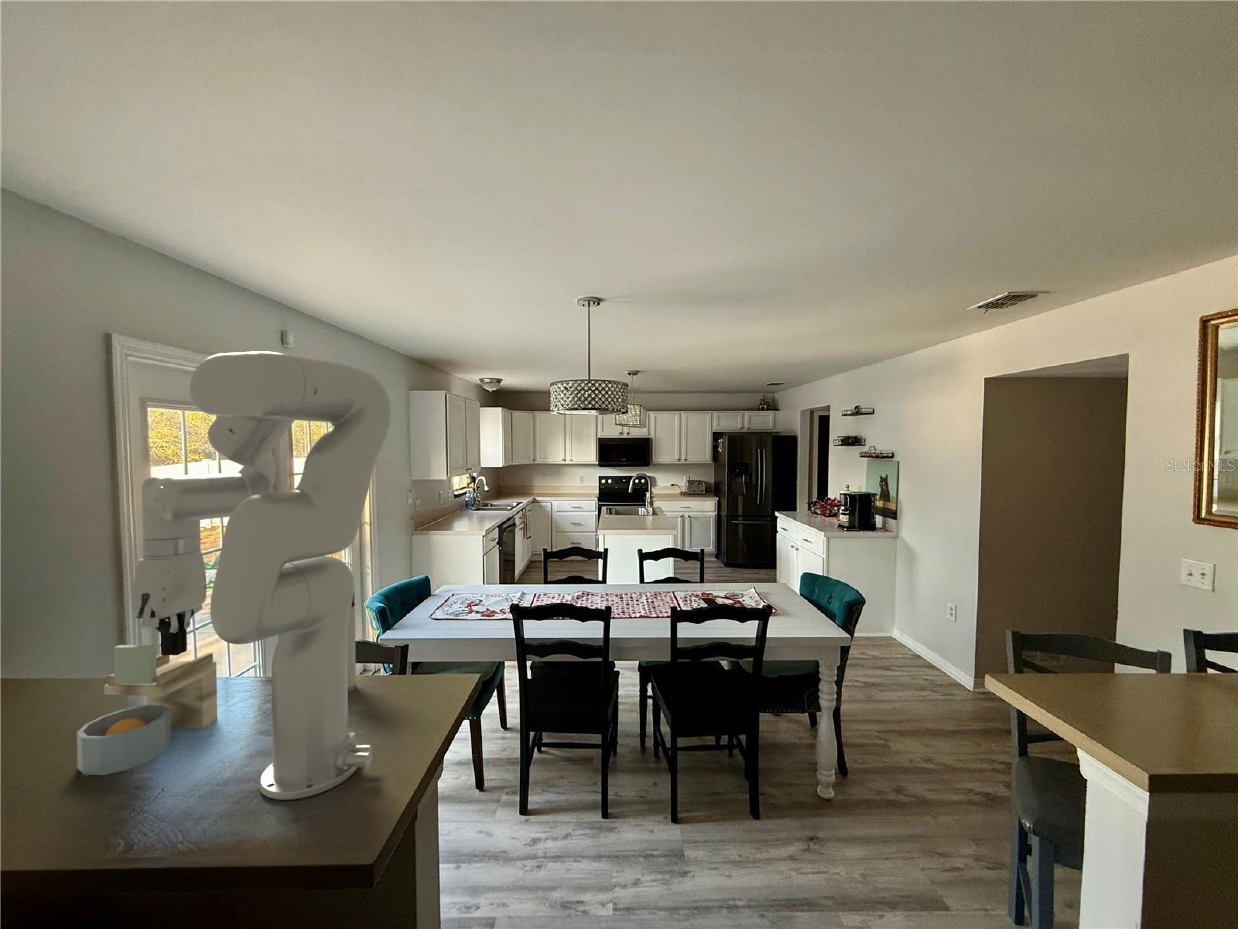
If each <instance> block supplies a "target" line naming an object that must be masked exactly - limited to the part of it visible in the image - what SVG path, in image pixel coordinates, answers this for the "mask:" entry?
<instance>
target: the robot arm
mask: <svg viewBox="0 0 1238 929" xmlns="http://www.w3.org/2000/svg"><path fill="white" fill-rule="evenodd" d="M189 383H190V384H189V392H190V397H191V400H192V402H193V404H194V405H195V407H196V408H198V409H199V411H201V412H203V413H205V414H207V415H211V416H216V418H215V419H214V420H213V422H212V424H211V425H210V426H209V429H208V431H207V437H208V438H207V439H208V441H209V443H210V445H211V446H212V447H213V449H214V451H216V452H217V453H218V454H219V455H220V456H222V457H224V458H225V459H227V460H229V461H231V462H233V463H236V464H238V465H240V466H242V468H241V469H240V470H239V471H237V472H236V473H210V474H208V473H207V474H204V473H203V474H181V475H180V474H177V475H174V474H173V475H166V474H165V475H154V476H153V475H152V476H149V477H147V478H145V479H144V480H143V482H142V486H141V500H142V501H141V503H142V504H141V505H142V506H141V509H142V511H141V512H142V558H141V559H140V558H139V559H138V562H137V566H136V569H135V574H134V575H135V576H134V579H133V590H132V608H131V609H132V612H131V613H132V616H133V618H134V619H142V620H141V623H140V628H142V629H155V630H156V632H157V633H158V634H160V654H162V655H169V656H179V655H181V654H184V653H186V652H187V650H188V635H187V634H188V633H187V629H188V628H190V626H191V620H192V618H193V617H194V616H195V614H197V613H198V612H200V611H201V610H203V604H204V603H205V602H206V599H207V589H208V588H207V587H208V586H207V575H206V574H207V573H206V567H205V560H204V556H203V553H202V551H201V548H202V547H201V540H202V538H201V521H202V520H203V521H204V520H211V519H219V518H221V519H222V518H229V519H228V521H227V523H226V527H225V531H224V534H223V539H222V544H221V549H220V554H219V558H218V562H217V568H216V572H215V577H214V581H213V587H212V593H211V596H210V597H211V598H210V611H209V613H210V614H209V615H210V620H211V624H212V628H213V630H214V632H215V634H216V635H217V636H218V637H219V638H220V639H221V640H223V641H224V642H225V643H229V644H233V645H247V644H251V643H256V642H258V641H262V640H266V639H269V638H273V637H276V636H278V635H280V637H279V638H278V640H277V643H276V645H275V648H274V651H273V653H272V654H273V655H272V658H271V719H272V720H271V722H272V723H271V724H272V726H271V727H272V734H271V735H272V763H271V764H270V765H268V767H266V768H265V769H264V771H263V772H262V773H261V775H260V778H259V790H260V792H261V793H262V794H263V796H266V797H267V798H270V799H273V800H283V801H285V800H287V801H288V800H289V801H291V800H298V799H303V798H308V797H311V796H314V795H318V794H321V793H323V792H326V791H328V790H331V789H333V788H334V787H336V786H338V785H340V784H341V783H343V782H344V781H346V780H347V779H348V778H350V777H351V776H352V775H353V774H354V773H355V772H356V770H357V769H358V768H369V767H370V766H371V764H372V761H373V752H372V751H373V745H372V744H358V743H357V742H356V733H355V732H349V706H348V704H349V702H348V698H349V697H348V696H349V695H348V694H349V693H348V690H347V636H348V623H349V616H350V611H351V606H352V601H353V595H354V596H355V580H354V575H353V572H352V571H351V569H350V567H349V566H348V565H347V564H346V563H345V562H344V561H343V560H341V559H339V558H337V557H334V556H329V555H334V554H337V553H339V552H342V551H345V550H346V549H348V548H349V547H350V546H351V545H352V544H353V542H354V541H355V539H356V537H357V534H358V532H359V527H360V524H361V519H362V516H363V513H364V508H365V504H366V500H367V497H368V493H369V492H368V491H369V487H370V486H371V480H372V474H373V471H374V468H375V465H376V462H377V460H378V458H379V455H380V452H381V451H382V448H383V445H384V444H385V441H386V439H387V436H388V433H389V429H390V424H391V419H392V407H391V401H390V397H389V394H388V393H387V390H386V388H385V386H384V385H383V383H382V382H381V381H380V380H379V379H378V378H377V377H376V376H374V375H373V374H371V373H369V372H367V371H366V370H364V369H360V368H358V367H356V366H352V365H347V364H343V363H338V362H334V361H328V360H323V359H322V360H321V359H314V358H308V357H304V356H298V355H292V354H288V353H280V352H274V351H245V352H243V351H242V352H227V353H224V352H223V353H217V354H214V355H211V356H209V357H207V358H205V359H204V360H203V361H201V362H200V363H199V364H198V366H196V368H195V370H194V371H193V374H192V376H191V379H190V382H189ZM295 421H300V422H301V421H305V422H319V423H330V424H331V427H330V429H329V430H327V431H326V432H325V433H323V435H322V436H321V437H320V438H318V439H317V441H316V442H315V443H314V445H313V446H312V448H310V451H309V452H308V454H307V456H306V458H305V460H304V465H303V471H302V474H301V478H300V480H299V483H298V485H297V486H296V487H295V488H293V489H291V490H282V491H279V490H278V491H271V490H272V489H273V487H274V484H275V481H276V480H275V479H276V473H277V472H276V467H277V466H276V462H275V459H274V456H273V454H272V451H273V449H274V448H275V446H276V445H277V444H278V443H279V442H280V440H281V439H282V437H284V435H285V434H286V432H287V431H288V430H289V429H290V427H291V426H292V425H293V424H294V422H295Z"/></svg>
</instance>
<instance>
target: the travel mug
mask: <svg viewBox="0 0 1238 929" xmlns="http://www.w3.org/2000/svg"><path fill="white" fill-rule="evenodd" d="M355 600H356V599H355V594H354V595H353V601H352V606H351V611H350V616H349V623H348V636H347V690H348V694H349V693H351V692H352V691H354V690H355V689H356V687H357V680H356V678H357V675H356V674H357V672H356V671H357V669H356V665H357V664H356V661H357V660H356V659H357V658H356V655H357V654H356V609H355V607H356V604H355V603H356V602H355Z"/></svg>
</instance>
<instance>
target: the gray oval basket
mask: <svg viewBox="0 0 1238 929" xmlns="http://www.w3.org/2000/svg"><path fill="white" fill-rule="evenodd" d="M127 718H138V719H141V720H142V721H144V722H145V723H146V725H145V726H142V727H139V728H136V729H133V730H130V731H127V732H123V733H117V734H112V735H107V736H105V734H106V733H107V731H108V730H109V729H110V728H111V727H112V726H113V725H114V724H116V723H117V722H119V721H121V720H124V719H127ZM171 744H172V727H171V714H170V709H169V708H168V707H166V706H165V705H147V704H146V705H145V704H144V705H139V706H135V707H134V706H133V707H127V708H125V709H124V708H123V709H121V710H118V711H114V712H111V713H107V714H105V715H102V716H100V717H98V718H95V719H94V720H91V721H89V722H87V723H85V724H84V725H83V726H82V727H81V728H80V729H79V730H78V731H77V732H76V756H77V757H76V758H77V759H76V760H77V764H76V766H77V767H76V768H78V769H79V770H80V771H81V772H82V773H88V774H89V773H91V774H96V775H102V776H106V775H111V774H115V773H120V772H125V771H129V770H130V769H133V768H135V767H138V766H140V765H144V764H147V763H148V762H151V761H152V760H154V759H156V758H157V757H159V756H161V755H162V754H163V753H166V752H167V750H168V748H169V747H170V745H171ZM79 770H78V771H79Z"/></svg>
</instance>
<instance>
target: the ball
mask: <svg viewBox="0 0 1238 929" xmlns="http://www.w3.org/2000/svg"><path fill="white" fill-rule="evenodd" d="M145 725H146V723H145V722H144V721H142V720H141V719H138V718H127V719H124V720H121V721H119V722H117V723H116V724H114V725H113V726H112V727H111V728H110V729H109V730H108V731H107V733H106V734H105V736H107V735H112V734H117V733H123V732H127V731H130V730H133V729H136V728H139V727H142V726H145Z"/></svg>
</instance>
